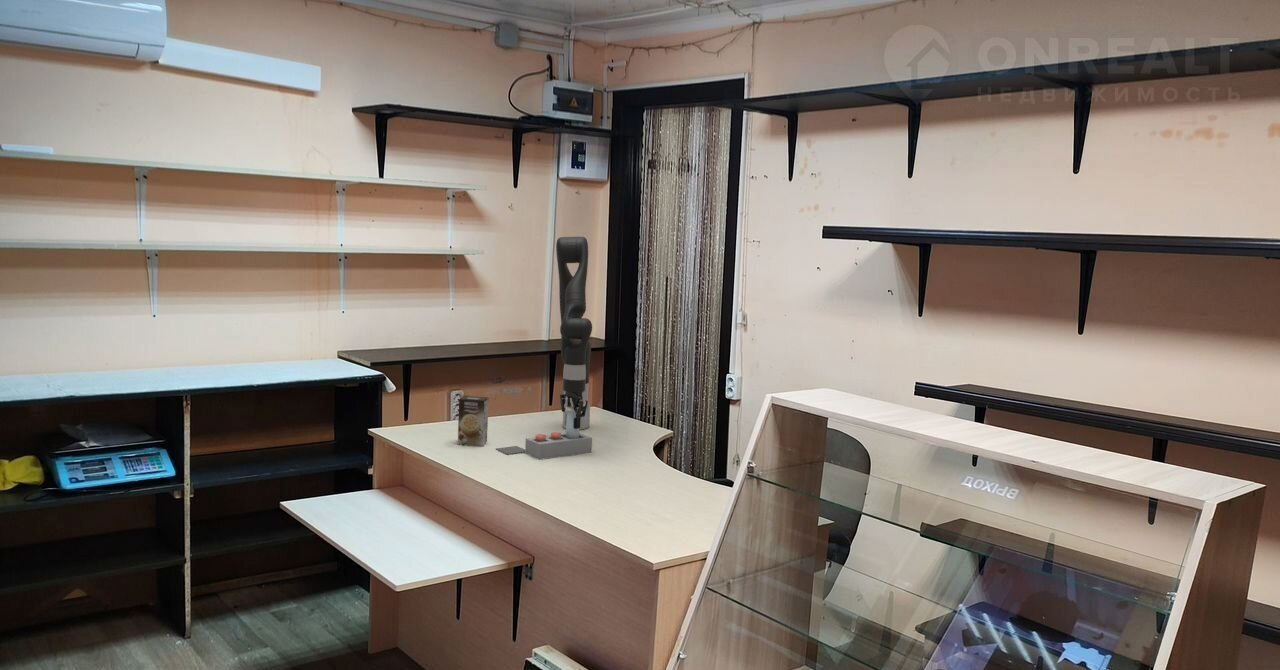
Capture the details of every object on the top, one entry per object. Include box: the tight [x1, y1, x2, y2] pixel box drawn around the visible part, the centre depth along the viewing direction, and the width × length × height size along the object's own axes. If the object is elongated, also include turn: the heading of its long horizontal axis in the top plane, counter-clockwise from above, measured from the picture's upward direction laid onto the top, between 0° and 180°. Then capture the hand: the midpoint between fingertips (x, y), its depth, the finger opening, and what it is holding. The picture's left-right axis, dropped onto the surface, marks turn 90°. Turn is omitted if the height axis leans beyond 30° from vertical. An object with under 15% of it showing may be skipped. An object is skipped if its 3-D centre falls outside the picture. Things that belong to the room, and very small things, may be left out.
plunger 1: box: [534, 433, 547, 442], centre depth 305 cm, size 3×3×6 cm
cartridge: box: [565, 406, 580, 439], centre depth 313 cm, size 5×5×15 cm
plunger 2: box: [550, 431, 562, 440], centre depth 309 cm, size 3×3×6 cm
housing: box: [524, 432, 593, 460], centre depth 310 cm, size 20×9×5 cm, turn 127°
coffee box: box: [457, 395, 489, 447], centre depth 316 cm, size 9×6×16 cm
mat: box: [495, 445, 526, 456], centre depth 310 cm, size 8×8×1 cm
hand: (572, 426), depth 312 cm, fingers closed on cartridge, 4 cm apart
